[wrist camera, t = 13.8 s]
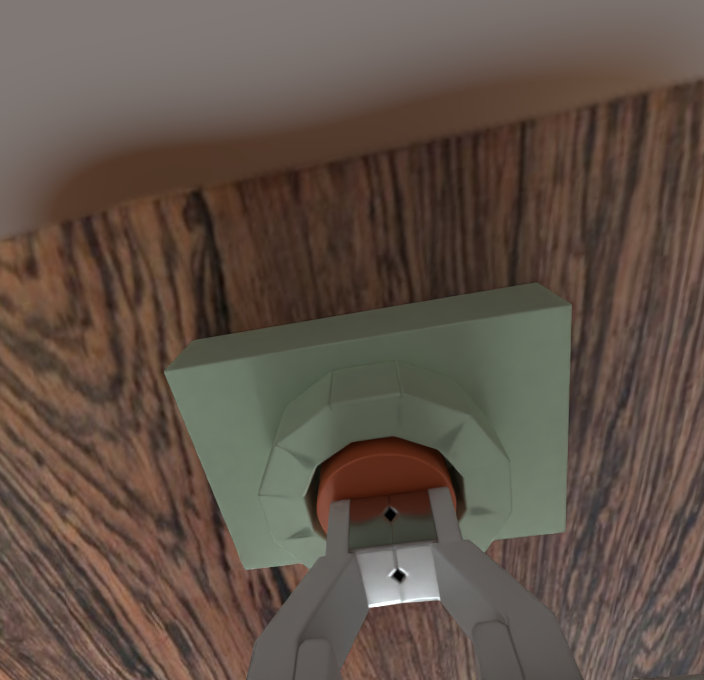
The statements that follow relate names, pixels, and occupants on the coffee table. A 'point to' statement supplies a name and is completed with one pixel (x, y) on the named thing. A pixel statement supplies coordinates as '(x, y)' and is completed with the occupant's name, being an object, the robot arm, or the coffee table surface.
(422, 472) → the button
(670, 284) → the coffee table surface
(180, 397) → the button box
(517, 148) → the coffee table surface
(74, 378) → the coffee table surface
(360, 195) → the coffee table surface
